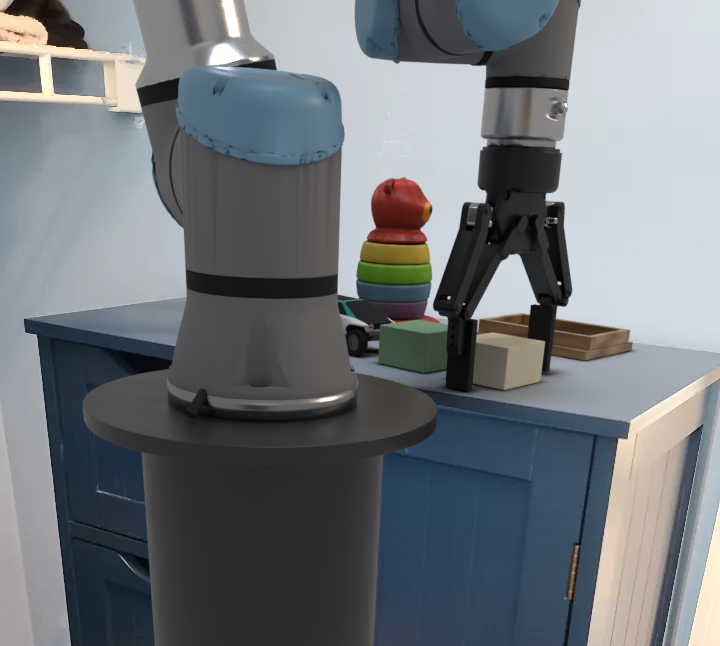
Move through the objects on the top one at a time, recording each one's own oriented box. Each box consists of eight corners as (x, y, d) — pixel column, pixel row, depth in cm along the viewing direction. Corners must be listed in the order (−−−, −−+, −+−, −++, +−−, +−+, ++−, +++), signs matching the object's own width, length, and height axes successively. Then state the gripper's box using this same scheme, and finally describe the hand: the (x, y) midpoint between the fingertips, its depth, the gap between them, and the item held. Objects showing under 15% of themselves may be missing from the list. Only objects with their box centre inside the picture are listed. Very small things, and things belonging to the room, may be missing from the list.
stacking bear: (414, 343, 114) (424, 179, 106) (339, 334, 117) (343, 175, 109) (446, 332, 122) (458, 179, 114) (375, 324, 126) (382, 175, 118)
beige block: (503, 390, 92) (508, 348, 91) (451, 379, 96) (454, 338, 94) (540, 381, 97) (545, 341, 95) (488, 371, 101) (492, 332, 99)
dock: (585, 360, 108) (588, 338, 107) (472, 340, 118) (474, 319, 117) (631, 350, 116) (635, 329, 114) (522, 332, 125) (524, 312, 124)
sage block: (424, 373, 98) (427, 333, 97) (377, 363, 102) (379, 324, 100) (462, 365, 103) (465, 327, 101) (416, 356, 107) (418, 319, 105)
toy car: (334, 336, 116) (336, 291, 114) (400, 353, 108) (403, 304, 106) (296, 340, 113) (296, 293, 110) (361, 357, 105) (363, 307, 102)
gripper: (473, 140, 76) (453, 404, 86) (625, 148, 93) (594, 368, 103) (402, 139, 81) (391, 389, 90) (559, 147, 97) (536, 358, 107)
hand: (499, 379), depth 97 cm, fingers open, 13 cm apart
